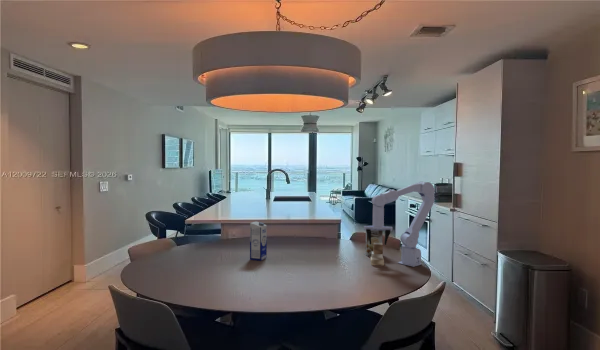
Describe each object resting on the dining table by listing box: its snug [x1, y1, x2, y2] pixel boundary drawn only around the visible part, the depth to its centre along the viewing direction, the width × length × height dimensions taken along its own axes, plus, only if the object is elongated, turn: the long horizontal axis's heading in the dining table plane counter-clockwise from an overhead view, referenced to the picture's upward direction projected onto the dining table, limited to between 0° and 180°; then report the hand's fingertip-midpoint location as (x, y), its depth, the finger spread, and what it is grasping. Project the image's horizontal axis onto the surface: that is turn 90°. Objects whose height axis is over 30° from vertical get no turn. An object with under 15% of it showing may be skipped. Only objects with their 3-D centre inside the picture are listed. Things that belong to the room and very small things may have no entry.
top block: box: [371, 252, 384, 260], centre depth 191 cm, size 6×6×3 cm
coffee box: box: [365, 230, 384, 257], centre depth 210 cm, size 9×6×16 cm
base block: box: [370, 256, 385, 267], centre depth 191 cm, size 6×6×3 cm
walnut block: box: [373, 242, 384, 255], centre depth 190 cm, size 4×4×5 cm
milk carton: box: [249, 221, 268, 262], centre depth 198 cm, size 7×7×20 cm
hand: (377, 244), depth 190 cm, fingers open, 7 cm apart
